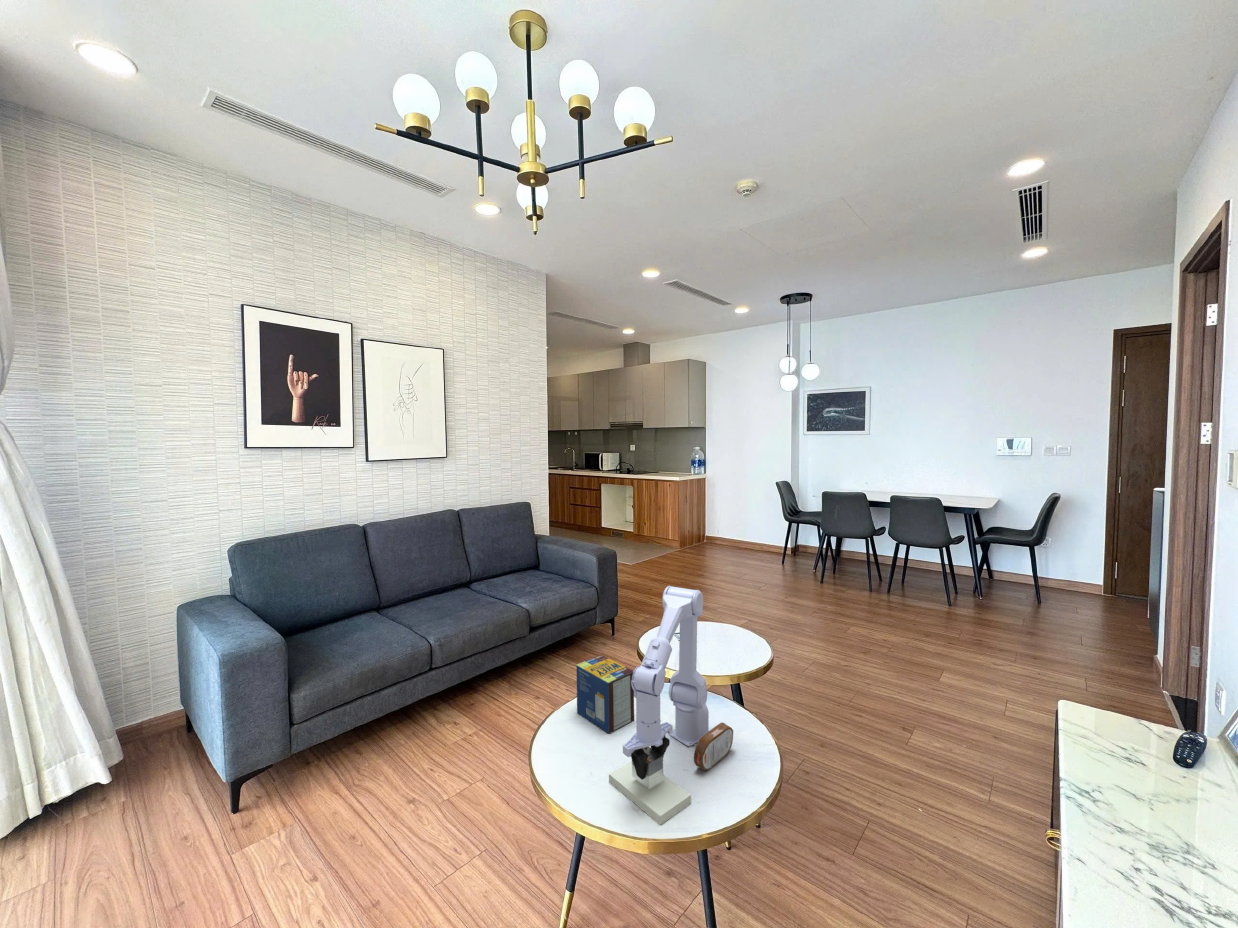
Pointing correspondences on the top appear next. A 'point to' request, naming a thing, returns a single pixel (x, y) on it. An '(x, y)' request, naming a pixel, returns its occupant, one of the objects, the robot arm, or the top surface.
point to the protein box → (605, 693)
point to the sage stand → (651, 794)
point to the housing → (651, 769)
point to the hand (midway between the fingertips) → (648, 771)
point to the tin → (713, 746)
